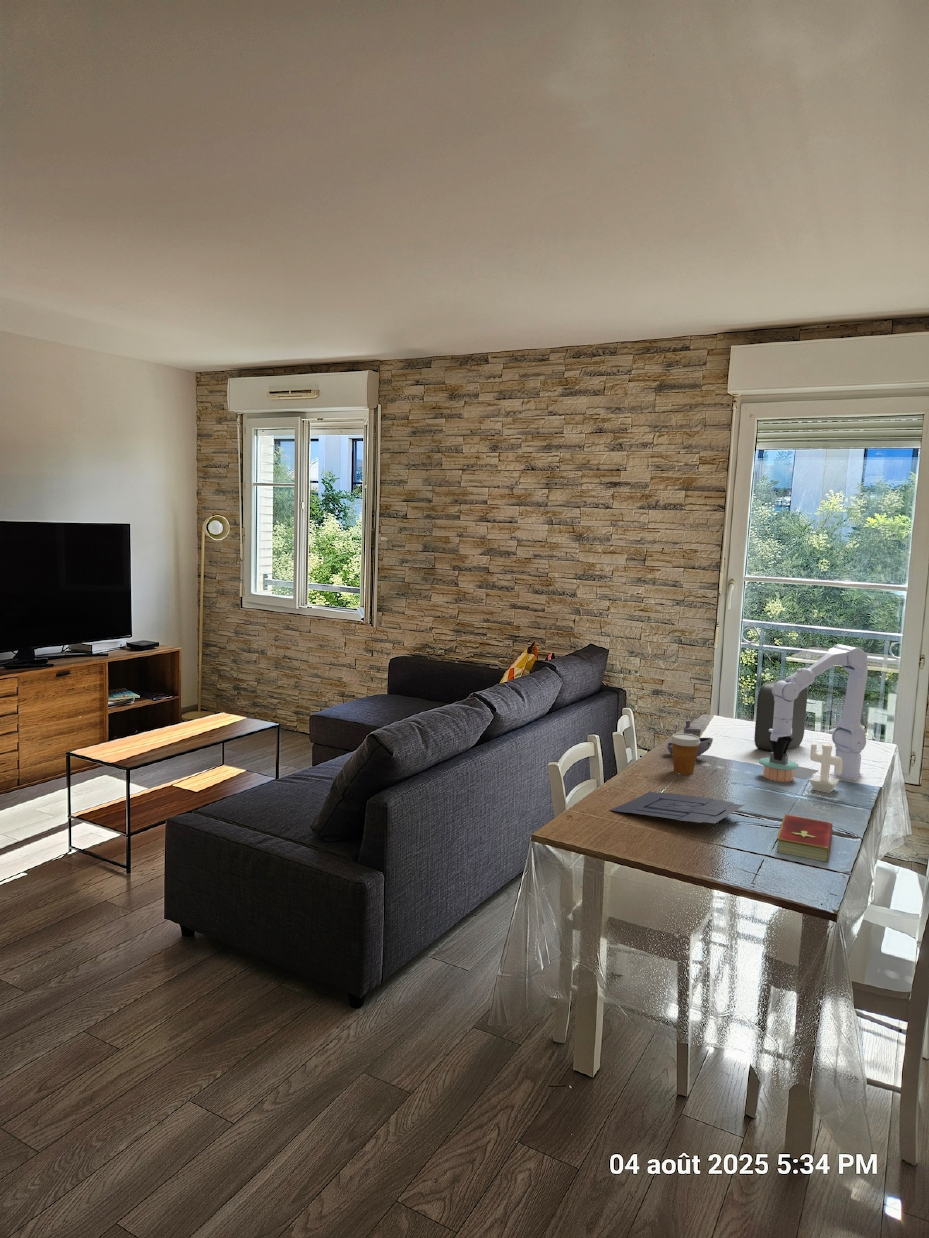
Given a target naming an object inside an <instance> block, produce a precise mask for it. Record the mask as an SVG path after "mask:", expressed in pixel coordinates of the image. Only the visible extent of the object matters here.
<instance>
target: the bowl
mask: <svg viewBox="0 0 929 1238" xmlns="http://www.w3.org/2000/svg"><path fill="white" fill-rule="evenodd" d="M762 771H763V772H762V776H763V778H765V779H768V780H771V781H774V782H783V783H786V782H792V781H793V780H794V777H793V776H794V770H781V769H774V768H769V767H766V766H763V768H762Z"/></svg>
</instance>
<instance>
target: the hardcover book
mask: <svg viewBox="0 0 929 1238" xmlns="http://www.w3.org/2000/svg"><path fill="white" fill-rule="evenodd" d="M832 835H833V823H832V822H831V821H824V820H820V819H814V818H808V817H803V816H797V815H793V814H792V815H791V814H786V813H784V815H783V818H782V822H781V825H780V828H779V831H778V834H777V837H776V841H778V843H777V853H781V854H785V855H786V854H787V855H790V856H791V855H792V856H796V857H801V858H807V859H813V860H817V861H823V862H825V863H828V861H829V860H830V859H829V858H830V849H831V842H832V838H833V837H832Z"/></svg>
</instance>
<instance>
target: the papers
mask: <svg viewBox="0 0 929 1238" xmlns="http://www.w3.org/2000/svg"><path fill="white" fill-rule="evenodd" d="M745 805H746V804H745ZM745 805H744V804H738V803H737V804H736V803H735V802H733V801H725V800H722V799H714V798H711V797H710V798H709V797H703V796H694V795H685V794H679V793H678V794H677V793H669V792H655V791H647V792H646V793H644V794H642V795H640V796H638V797H636V798H634V799H632V800H630V801H628V802H626V803H623V804H620V805H618V806H616V807H614V808H611V809H610V811H611V812H612V811H614V812H620V813H628V814H637V815H643V816H644V815H646V816H651V817H659V818H665V819H672V820H676V821H684V822H693V823H699V824H700V823H708V824H709V823H710V824H716V823H719V822H720V821H722V819H725V818H726V817H728V816H729V815H731V814H732V813H734V812H736V811H738V810H740V809H741V808H743V807H744V806H745Z"/></svg>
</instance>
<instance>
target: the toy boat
mask: <svg viewBox="0 0 929 1238" xmlns="http://www.w3.org/2000/svg"><path fill="white" fill-rule="evenodd" d="M691 722H692V720H691V719H685V725H684V726H683V734H691V735H695V736H698V737H699V739H700V742H701V743H700V745H699V747H698V752H697V757H699V756H701V755H703V754H704V753H706V752H708V750H709V749H710V748H711V746H712V744H713V739H714V738H712V737H700V736H701V731H702V727H703V726H702V725H691ZM666 748H667V750H668V752H669V754H672V755H673V751H672V742H671V741H669V742H667V745H666Z"/></svg>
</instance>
